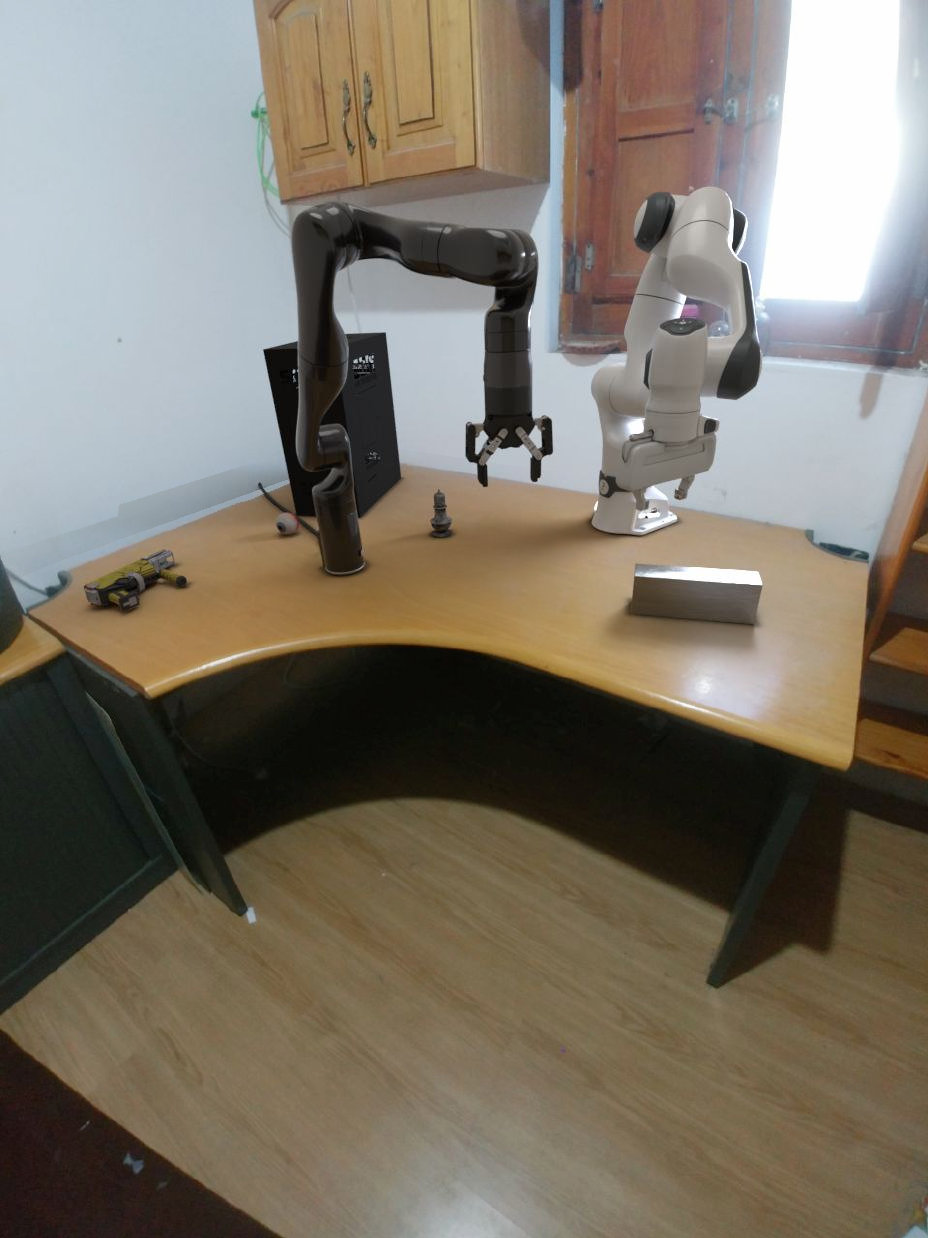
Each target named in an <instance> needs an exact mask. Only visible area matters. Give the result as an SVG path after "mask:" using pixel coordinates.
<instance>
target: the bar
mask: <svg viewBox="0 0 928 1238" xmlns="http://www.w3.org/2000/svg"><path fill="white" fill-rule="evenodd" d="M762 591H763V582H762V579H761V576H760V573H759V571H758V570H757V571H756V570H743V569H741V570H740V569H726V568H725V569H724V568H712V567H711V568H710V567H696V566H695V567H694V566H680V565H679V566H678V565H667V564H666V565H663V564H651V563H649V564H648V563H647V564H646V563H634V574H633V585H632V593H631V594H632V595H631V604H630V605H631V607H630V614H631V615H640V616H650V617H651V616H653V617H662V618H663V617H664V618H674V619H685V620H686V619H687V620H697V621H698V620H699V621H708V622H721V623H722V622H723V623H732V624H745V625H755V621H756V616H757V613H758V607H759V603H760V599H761V594H762Z"/></svg>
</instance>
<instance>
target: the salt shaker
mask: <svg viewBox="0 0 928 1238" xmlns="http://www.w3.org/2000/svg"><path fill="white" fill-rule="evenodd" d="M432 508H433V509H434V516H433V517H432V518H431V519H430V520H429V523H430V525H431V527H432V528H433V531H432V532H431V535H432V536H433V537H437V538H444V537H448V536H450V535H452V533H453V531H452V530H451V529H450V528H451V525H452V522H453V519H452V517H450V516H448V514H447V508H448V505H447V504H446V495H445V493H443V492H441V490H440V489H439V488H438V489H437V492H435V493H434V494H433V506H432Z"/></svg>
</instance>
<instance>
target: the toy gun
mask: <svg viewBox="0 0 928 1238" xmlns="http://www.w3.org/2000/svg"><path fill="white" fill-rule="evenodd" d="M171 557H172V561H171V560H168V558H171ZM175 563H176V561H175V556H174V552H173V551H172V550H169V549H168V550H167V549H165V548H162V549H161V550H159V551H155V552H154V553H152V554H150V555H148V556H146V557H141V558H140V559H138V560H135V561H133V562H131V563H129V564H127V565H125V566H122V567H120V568H118V569H116V570H114V571H111V572H109V573H107V574H105V575H103V576H101V577H98V578H97V579H94V580H92V581H90V582H88V583H86V584H84V585H83V590H84V593H85V597H86V600H87V602H88V603H89V604H90V606H94V607H98V606H109V605H113V604H116V605H118V606H119V607H120V611H121V612H122V613H123V612H127V611H129V610H131V609H134V608H136V607H138V606H141V605H140V604H141V603H140V599H139V595H138V594H139V593H140V592H142V591H144V590H145V589H146V586H148V585H150V584H152V583H155V582H158V581H159V579H161V580H165V581H166V582H168V583H172V584H173V585H176V586H178V587H179V588H181V587H185V586H186V585H187V583H188V580H187V577H185V575H180V574H179V573H175V572H173V571H170V570H169V569H167V568H169V567H170V566H174V565H175Z"/></svg>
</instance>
